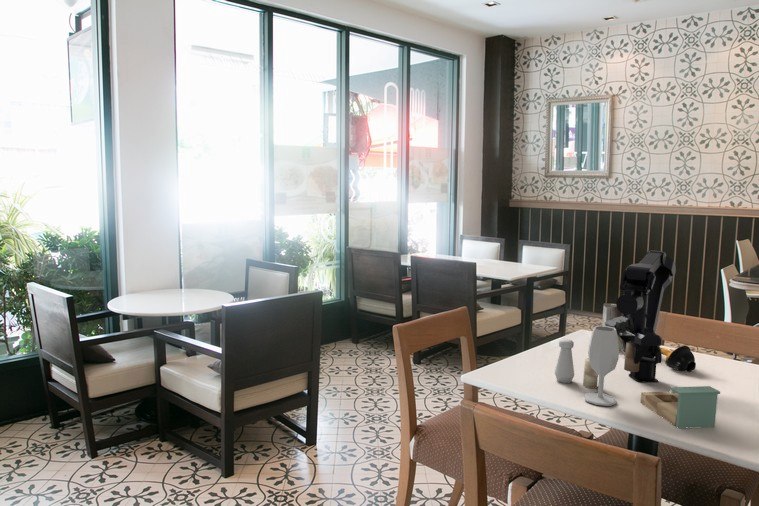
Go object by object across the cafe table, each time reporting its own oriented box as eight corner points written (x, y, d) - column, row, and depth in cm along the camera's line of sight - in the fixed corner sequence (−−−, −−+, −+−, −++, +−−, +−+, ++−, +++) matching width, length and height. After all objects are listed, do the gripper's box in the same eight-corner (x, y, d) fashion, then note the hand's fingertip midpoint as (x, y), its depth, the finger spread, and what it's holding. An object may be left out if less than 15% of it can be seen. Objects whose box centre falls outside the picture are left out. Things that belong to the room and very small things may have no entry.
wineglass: (612, 409, 164) (618, 334, 161) (580, 402, 169) (585, 329, 166) (619, 399, 171) (624, 327, 169) (587, 393, 176) (592, 322, 173)
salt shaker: (574, 384, 183) (577, 343, 181) (555, 383, 184) (557, 341, 182) (572, 378, 189) (575, 338, 187) (553, 376, 190) (556, 336, 188)
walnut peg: (634, 367, 180) (636, 341, 179) (641, 371, 176) (643, 345, 175) (621, 367, 179) (623, 341, 178) (628, 372, 175) (630, 345, 174)
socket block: (673, 401, 171) (674, 391, 170) (711, 424, 155) (712, 413, 155) (640, 402, 170) (641, 392, 169) (674, 426, 154) (675, 414, 153)
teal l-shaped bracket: (706, 420, 158) (709, 386, 156) (716, 427, 154) (720, 391, 152) (667, 422, 156) (670, 387, 155) (676, 428, 152) (679, 392, 151)
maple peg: (593, 383, 184) (594, 358, 183) (599, 388, 181) (601, 362, 180) (580, 383, 184) (582, 358, 183) (586, 388, 180) (588, 362, 179)
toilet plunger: (680, 362, 192) (641, 331, 207) (680, 387, 198) (642, 355, 213) (704, 351, 193) (664, 321, 208) (703, 375, 199) (664, 344, 214)
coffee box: (626, 346, 227) (629, 304, 225) (630, 351, 220) (633, 307, 218) (600, 344, 228) (603, 302, 226) (603, 349, 222) (606, 306, 220)
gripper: (594, 302, 183) (591, 352, 185) (627, 316, 165) (622, 372, 167) (629, 302, 185) (625, 352, 187) (665, 316, 167) (660, 371, 168)
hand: (632, 361), depth 177 cm, fingers closed on walnut peg, 4 cm apart
